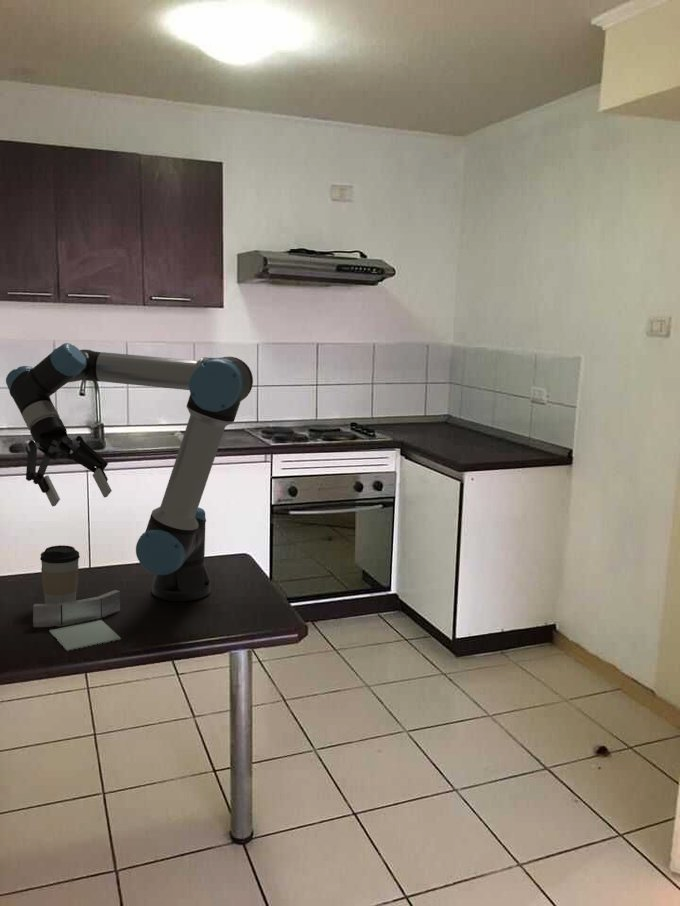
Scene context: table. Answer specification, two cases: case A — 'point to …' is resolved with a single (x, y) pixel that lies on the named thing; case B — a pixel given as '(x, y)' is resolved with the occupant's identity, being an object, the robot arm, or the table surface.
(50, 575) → the coffee cup
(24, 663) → the table surface
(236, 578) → the table surface
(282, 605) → the table surface
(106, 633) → the mat
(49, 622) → the bent rail
